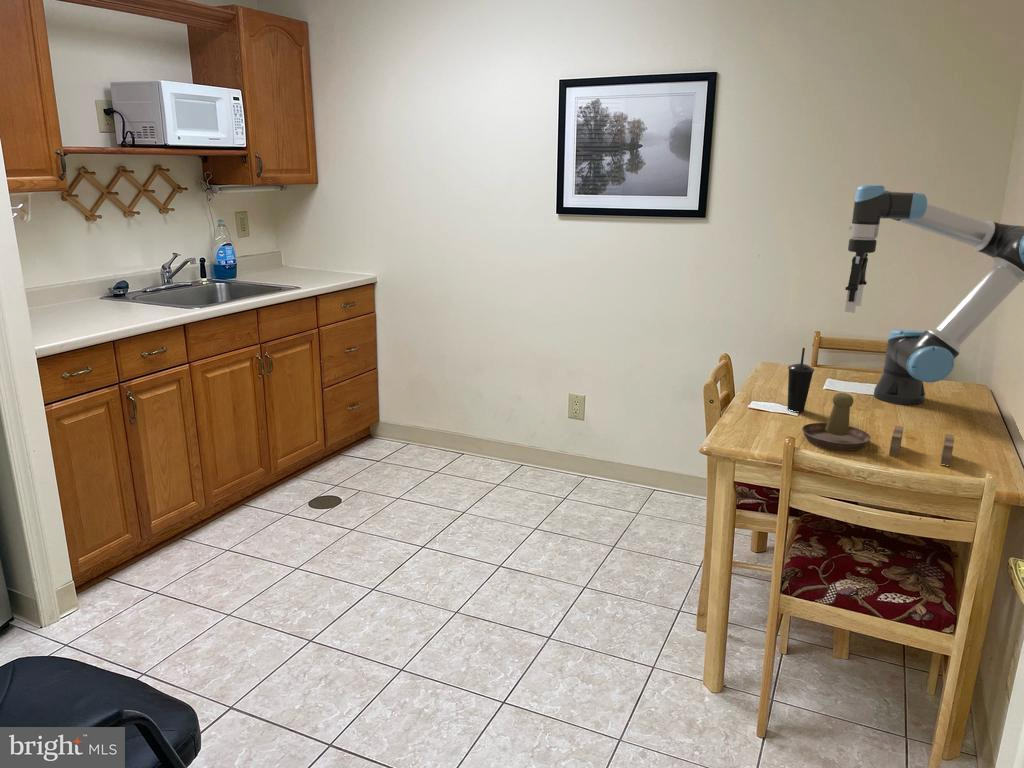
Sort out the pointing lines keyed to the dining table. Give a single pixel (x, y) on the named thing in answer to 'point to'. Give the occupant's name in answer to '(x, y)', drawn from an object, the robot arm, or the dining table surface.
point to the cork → (840, 415)
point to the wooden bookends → (945, 452)
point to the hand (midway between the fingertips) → (852, 308)
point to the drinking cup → (799, 384)
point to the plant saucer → (835, 437)
